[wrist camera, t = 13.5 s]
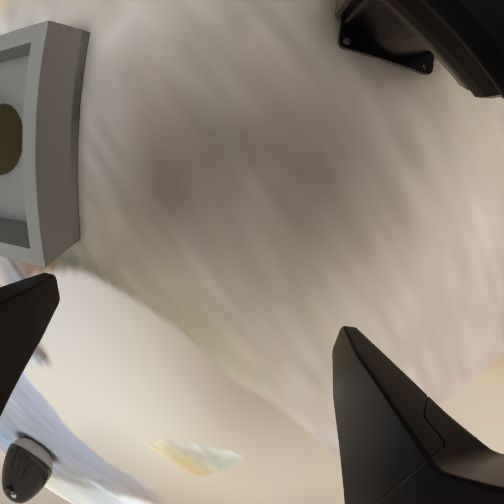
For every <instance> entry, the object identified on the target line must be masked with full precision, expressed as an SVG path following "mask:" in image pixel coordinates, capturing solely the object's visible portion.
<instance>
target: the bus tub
mask: <svg viewBox="0 0 504 504" xmlns="http://www.w3.org/2000/svg"><path fill="white" fill-rule="evenodd" d="M89 34H90V33H89V32H86V31H83V30H80V29H77V28H73V27H70V26H66V25H63V24H59V23H55V22H52V21H46V22H42V23H39V24H35V25H32V26H28V27H25V28H22V29H18V30H15V31H12V32H9V33H7V34H4V35H1V36H0V104H4V103H5V104H8V105H11V106H12V107H13V108H14V109H15V110H16V111H17V112H18V114H19V116H20V118H21V122H22V126H23V136H22V154H21V157H20V159H19V162H18V164H17V165H16V166H15V168H14V169H13V170H12V171H11V172H9V173H7V174H4V175H0V256H2V257H6V258H10V259H13V260H17V261H21V262H25V263H29V264H33V265H37V266H41V267H45V268H46V267H47V266H48V265H49V264H50V263H51V262H53V261H54V260H55V259H56V258H57V257H59V256H60V255H61V254H62V253H63V252H65V251H66V250H67V249H68V248H70V247H71V246H72V245H73V244H75V243H76V242H77V241H78V240H80V230H79V214H78V184H77V157H78V128H79V112H80V100H81V90H82V81H83V73H84V65H85V58H86V52H87V46H88V40H89Z"/></svg>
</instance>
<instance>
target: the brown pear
mask: <svg viewBox="0 0 504 504" xmlns="http://www.w3.org/2000/svg"><path fill="white" fill-rule="evenodd" d="M22 136H23V126H22V122H21V118H20V116H19V114H18V112H17V111H16V110H15V109H14V108H13V107H12V106H11V105H8V104H5V103H4V104H0V175H4V174H7V173H9V172H11V171H12V170H13V169H14V168H15V166H16V165H17V164H18V162H19V159H20V157H21V154H22Z"/></svg>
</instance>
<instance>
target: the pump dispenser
mask: <svg viewBox="0 0 504 504" xmlns="http://www.w3.org/2000/svg"><path fill="white" fill-rule="evenodd" d="M52 466H53V464H52V459H51V456H50V455H49V453H48V452H47V451H46V449H44V448H43V447H42V446H41V445H40V444H38V443H37V442H35V441H33V440H31V439H27V438H20V439H17V440H16V441H15V442H14V443H11V444H10V446H9V448H8V450H7V453H6V456H5V460H4V464H3V470H2V487H3V491H4V493H5V495H6V496H7V497H8V498H9V499H10V500H11V501H13V502H15V503H25V502H27V501H29V500H30V499H32V498H33V497H34V496H35V495H36V494H37V493H38V492H39V491H40V490H41V489H42V488H43V487H44V486H45V484H46V483H47V481H48V480H49V478H50V477H51V475H52Z"/></svg>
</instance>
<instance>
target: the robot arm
mask: <svg viewBox="0 0 504 504" xmlns="http://www.w3.org/2000/svg"><path fill="white" fill-rule="evenodd" d="M335 16H336V17H337V19H341V20H340V27H339V34H338V45H339V46H340V47H341V48H342V49H344V50H348V51H352V52H356V53H360V54H363V55H367V56H370V57H374V58H377V59H380V60H383V61H386V62H390V63H393V64H396V65H398V66H401V67H404V68H407V69H410V70H413V71H415V72H418V73H421V74H423V75H427V74H430V73H431V72H432V70H433V62H434V56H435V57H436V58H437V59H438V60H439V61H440V62H441V63H442V64H443V66H444V67H445V68H446V69H447V70H448V71H449V73H450V74H451V75H452V76H453V77H454V78H455V80H456V81H457V82H458V83H459V85H460V86H462V87H464V88H465V89H467V90H470V91H471V92H472V94H473V95H474V96H475V97H479V98H496V97H502V98H504V0H337V3H336V11H335ZM343 39H347V40H348V41H349V45H345V44H344V43H343ZM423 64H424V65H426V67H427V70H424V68H423ZM59 300H60V296H59V291H58V286H57V280H56V277H55V276H54V275H52V274H48V273H42V274H39V275H36V276H33V277H30V278H27V279H24V280H21V281H18V282H15V283H12V284H9V285H6V286H3V287H0V416H1V414H2V412H3V410H4V408H5V406H6V403H7V401H8V399H9V397H10V395H11V393H12V391H13V389H14V388H15V386H16V384H17V382H18V380H19V378H20V376H21V374H22V372H23V371H24V369H25V367H26V365H27V363H28V361H29V360H30V358H31V356H32V354H33V353H34V351H35V349H36V347H37V346H38V344H39V342H40V340H41V339H42V337H43V335H44V333H45V330H46V328H47V326H48V324H49V322H50V320H51V318H52V316H53V314H54V312H55V310H56V308H57V306H58V304H59ZM332 357H333V398H334V407H335V415H336V423H337V431H338V439H339V448H340V457H341V467H342V476H343V488H344V499H345V504H504V454H500V453H497V452H495V451H493V450H491V449H489V448H488V447H487V446H485V445H484V444H483V443H482V442H481V441H479V440H478V439H477V438H476V437H474V436H473V435H472V434H471V433H469V432H468V431H467V430H466V429H464V428H463V427H462V426H461V425H460V424H458V423H457V422H456V421H455V420H453V419H452V418H451V417H450V416H449V415H448V414H446V412H444V411H443V410H442V409H441V408H440V407H439V406H438V405H437V404H436V403H435V402H434V401H433V400H432V399H431V398H430V397H427V395H426V394H425V393H424V392H423V391H422V390H421V389H420V388H419V387H418V386H417V385H416V384H415V383H414V382H413V381H412V380H411V379H410V378H409V377H408V376H407V375H406V374H405V373H403V372H402V371H401V370H400V369H399V368H398V367H397V366H396V365H395V364H394V363H393V362H392V361H391V360H390V359H389V358H388V357H387V356H386V355H385V354H383V353H382V352H381V351H380V350H379V349H378V348H377V347H376V346H375V345H374V344H373V343H372V342H371V341H370V340H369V339H368V338H366V337H365V336H364V335H363V334H362V333H361V332H360V331H359V330H358V329H357V328H355V327H348V326H343V327H342V328H341V329H340V332H339V334H338V337H337V339H336V342H335V345H334V347H333V353H332Z"/></svg>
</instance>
